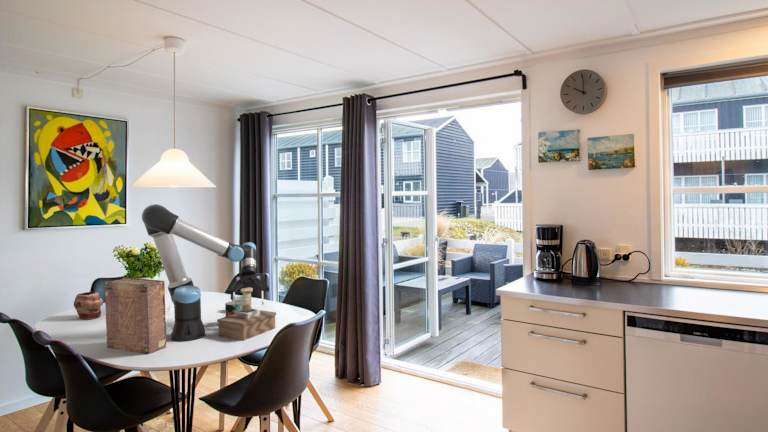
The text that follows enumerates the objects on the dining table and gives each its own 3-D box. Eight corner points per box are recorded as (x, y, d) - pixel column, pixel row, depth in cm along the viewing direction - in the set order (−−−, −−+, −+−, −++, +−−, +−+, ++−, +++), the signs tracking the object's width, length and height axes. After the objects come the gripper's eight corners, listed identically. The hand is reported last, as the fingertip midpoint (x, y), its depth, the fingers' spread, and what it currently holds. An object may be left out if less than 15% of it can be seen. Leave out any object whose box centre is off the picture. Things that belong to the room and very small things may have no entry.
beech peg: (247, 317, 225) (246, 290, 224) (239, 316, 228) (238, 289, 227) (255, 315, 230) (255, 288, 229) (247, 313, 232) (246, 287, 232)
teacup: (248, 313, 265) (247, 299, 264) (229, 313, 265) (228, 299, 265) (255, 307, 279) (255, 294, 278) (237, 307, 279) (237, 294, 279)
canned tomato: (225, 326, 239) (224, 305, 239) (226, 322, 247) (225, 301, 246) (241, 324, 241) (240, 304, 241) (241, 320, 249) (241, 300, 249)
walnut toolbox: (243, 340, 215) (243, 318, 215) (217, 336, 223) (216, 314, 222) (276, 328, 235) (276, 307, 235) (251, 323, 243) (250, 304, 243)
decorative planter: (63, 319, 255) (62, 294, 254) (84, 313, 267) (83, 289, 266) (91, 322, 249) (90, 296, 248) (111, 316, 260) (110, 291, 260)
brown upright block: (106, 347, 207) (104, 280, 206) (124, 341, 216) (122, 277, 214) (149, 354, 198) (147, 284, 197) (166, 347, 207) (164, 280, 205)
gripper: (273, 271, 247) (274, 306, 234) (224, 274, 241) (222, 309, 227) (273, 263, 242) (274, 298, 228) (222, 265, 236) (220, 301, 222)
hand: (248, 304), depth 228 cm, fingers open, 13 cm apart
